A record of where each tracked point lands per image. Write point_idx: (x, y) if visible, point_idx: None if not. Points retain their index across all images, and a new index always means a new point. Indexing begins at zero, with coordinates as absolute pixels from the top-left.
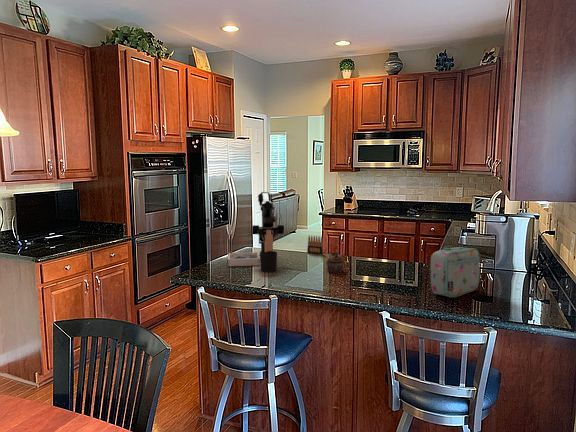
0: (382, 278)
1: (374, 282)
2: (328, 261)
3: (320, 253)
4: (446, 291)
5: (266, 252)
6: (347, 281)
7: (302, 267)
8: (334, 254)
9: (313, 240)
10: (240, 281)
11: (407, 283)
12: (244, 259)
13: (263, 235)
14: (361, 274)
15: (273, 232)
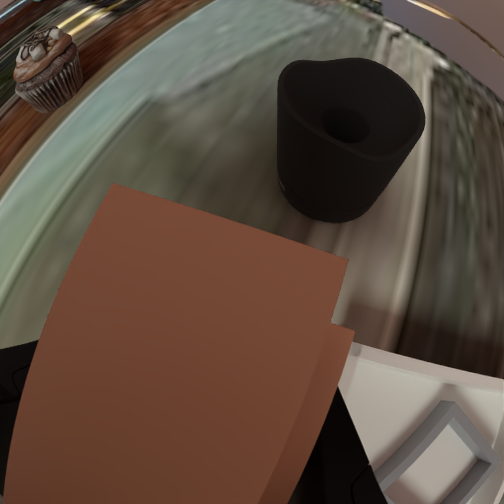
0: None
1: (99, 7)
2: (71, 50)
3: None
4: None
5: (356, 150)
6: (138, 9)
7: (107, 169)
8: (45, 31)
9: None
10: (466, 99)
11: (63, 7)
12: (461, 371)
13: (347, 462)
14: None
15: (9, 392)
